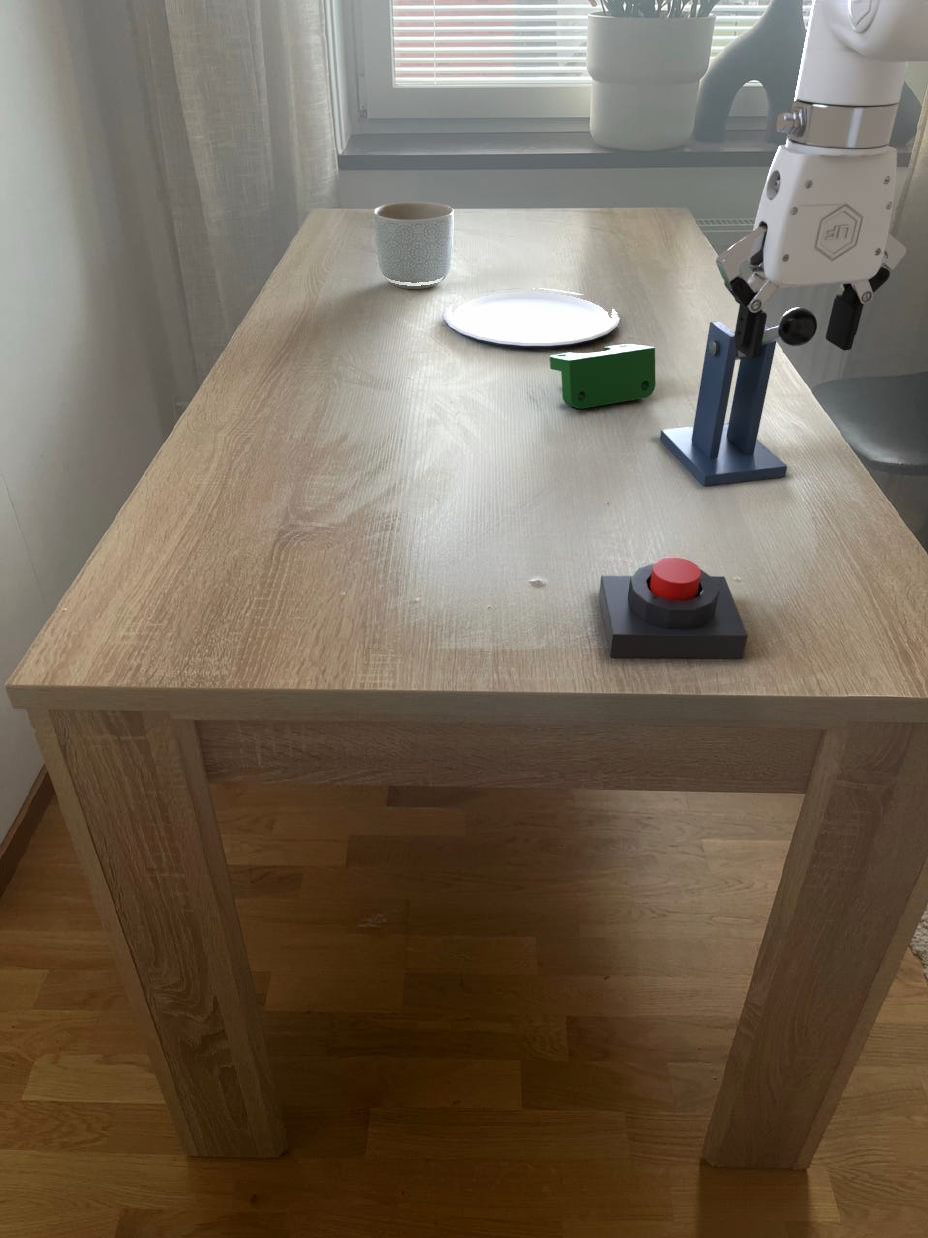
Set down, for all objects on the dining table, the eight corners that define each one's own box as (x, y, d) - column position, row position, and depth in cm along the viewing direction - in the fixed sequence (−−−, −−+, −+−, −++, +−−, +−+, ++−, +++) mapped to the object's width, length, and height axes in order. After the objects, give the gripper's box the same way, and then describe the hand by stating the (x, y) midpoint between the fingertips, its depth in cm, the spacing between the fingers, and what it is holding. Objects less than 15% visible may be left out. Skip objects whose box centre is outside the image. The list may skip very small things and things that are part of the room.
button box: (720, 598, 76) (728, 557, 74) (742, 658, 69) (752, 615, 67) (598, 597, 76) (603, 556, 74) (609, 657, 69) (614, 614, 67)
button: (692, 576, 72) (696, 557, 71) (701, 602, 69) (705, 583, 68) (646, 576, 72) (649, 556, 71) (653, 602, 69) (656, 583, 68)
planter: (365, 277, 149) (361, 205, 143) (435, 268, 154) (434, 198, 147) (393, 299, 140) (390, 223, 134) (467, 288, 145) (467, 214, 138)
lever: (825, 341, 79) (823, 302, 79) (791, 344, 78) (789, 305, 78) (749, 362, 92) (747, 329, 91) (719, 365, 91) (717, 332, 91)
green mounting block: (616, 420, 115) (639, 347, 113) (641, 427, 110) (667, 351, 107) (533, 395, 110) (557, 318, 107) (556, 401, 104) (581, 320, 102)
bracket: (785, 476, 93) (816, 342, 85) (703, 486, 92) (726, 350, 84) (735, 431, 102) (759, 306, 94) (659, 439, 100) (676, 312, 92)
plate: (409, 316, 134) (409, 307, 133) (539, 285, 146) (539, 277, 145) (520, 367, 118) (521, 357, 117) (656, 327, 130) (657, 318, 129)
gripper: (760, 139, 66) (720, 373, 77) (970, 131, 70) (905, 356, 80) (714, 123, 72) (683, 342, 83) (910, 116, 76) (856, 328, 86)
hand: (792, 348), depth 81 cm, fingers open, 8 cm apart
